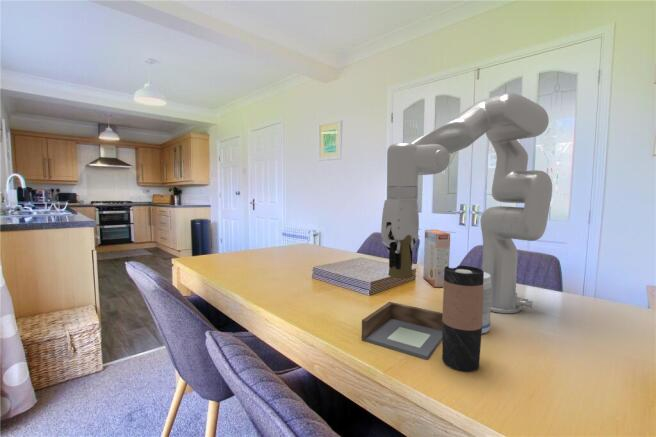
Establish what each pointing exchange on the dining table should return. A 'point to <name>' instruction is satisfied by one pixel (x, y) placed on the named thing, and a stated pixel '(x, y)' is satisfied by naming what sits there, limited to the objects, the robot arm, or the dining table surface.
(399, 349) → the mat
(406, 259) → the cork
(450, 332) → the travel mug
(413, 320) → the walls
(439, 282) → the cracker box
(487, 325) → the supplement tub
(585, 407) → the dining table surface
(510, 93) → the robot arm
